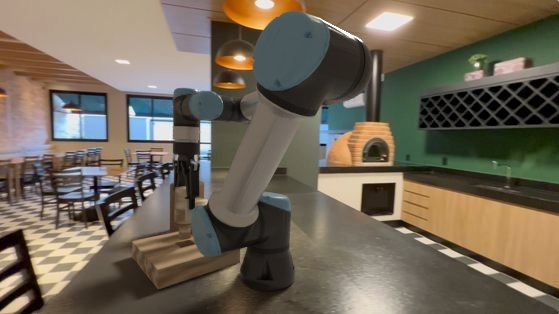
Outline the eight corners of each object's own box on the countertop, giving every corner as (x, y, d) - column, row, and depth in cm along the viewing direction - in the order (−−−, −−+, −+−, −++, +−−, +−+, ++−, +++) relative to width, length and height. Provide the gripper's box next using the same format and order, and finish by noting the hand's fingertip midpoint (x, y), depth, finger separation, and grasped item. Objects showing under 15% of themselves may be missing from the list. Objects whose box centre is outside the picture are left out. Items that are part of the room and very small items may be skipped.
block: (192, 237, 103) (192, 184, 101) (168, 234, 105) (168, 183, 103) (204, 228, 112) (205, 181, 111) (182, 226, 114) (183, 179, 113)
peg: (198, 238, 83) (199, 188, 82) (178, 242, 79) (179, 190, 78) (189, 233, 87) (190, 185, 86) (170, 236, 83) (171, 186, 82)
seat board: (239, 262, 83) (240, 210, 82) (158, 289, 66) (158, 225, 65) (203, 239, 100) (203, 196, 99) (131, 256, 84) (131, 206, 83)
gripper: (213, 142, 77) (211, 222, 78) (185, 141, 91) (184, 208, 92) (187, 141, 72) (186, 227, 73) (162, 140, 86) (162, 212, 87)
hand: (185, 217), depth 83 cm, fingers closed on peg, 6 cm apart
